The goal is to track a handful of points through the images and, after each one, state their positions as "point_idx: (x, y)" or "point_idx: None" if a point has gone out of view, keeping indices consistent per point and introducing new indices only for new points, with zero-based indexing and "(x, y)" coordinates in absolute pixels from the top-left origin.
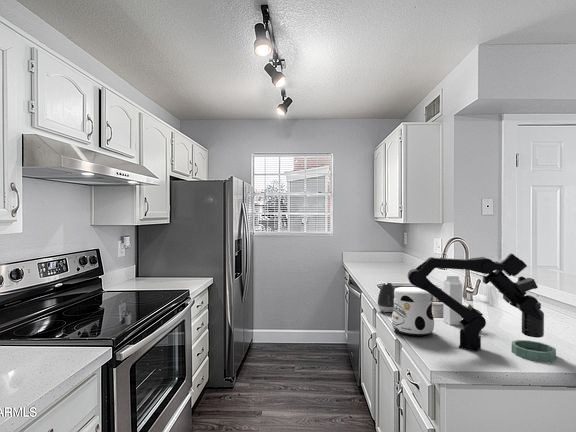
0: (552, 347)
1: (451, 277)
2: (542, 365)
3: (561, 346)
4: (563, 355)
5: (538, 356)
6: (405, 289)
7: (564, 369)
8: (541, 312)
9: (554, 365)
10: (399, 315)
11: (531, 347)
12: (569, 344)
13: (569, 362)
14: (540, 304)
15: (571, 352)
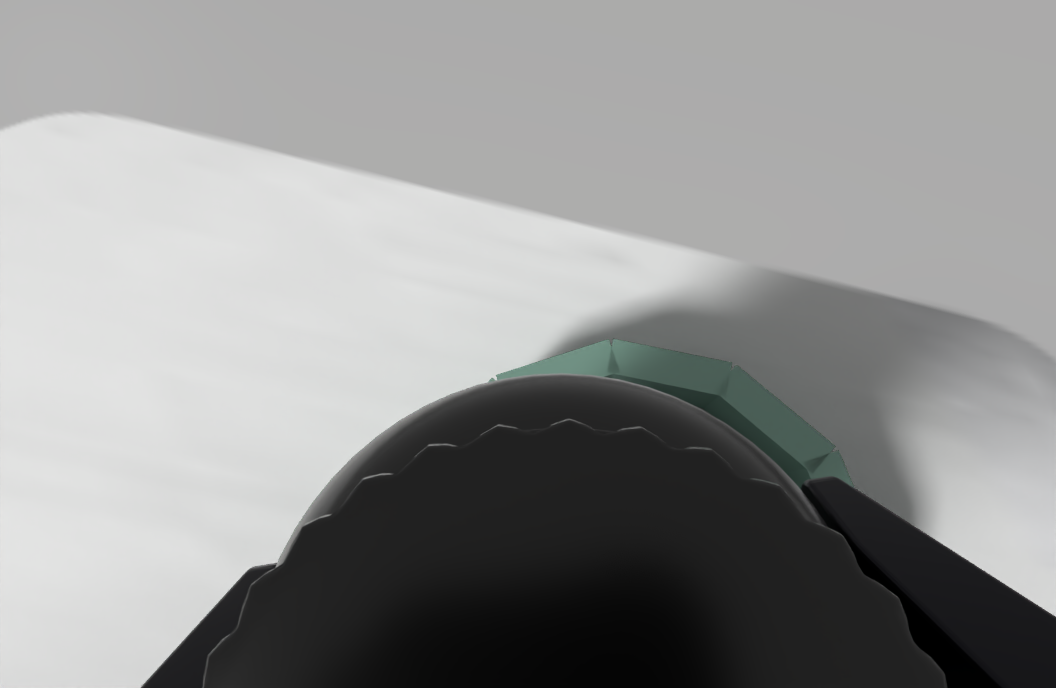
0: (579, 363)
1: None
2: (974, 563)
3: (197, 216)
4: (509, 271)
5: None
6: None
7: (980, 372)
8: (747, 465)
9: (902, 437)
10: None
11: None
12: (101, 128)
13: (720, 272)
14: (726, 461)
15: (373, 175)
